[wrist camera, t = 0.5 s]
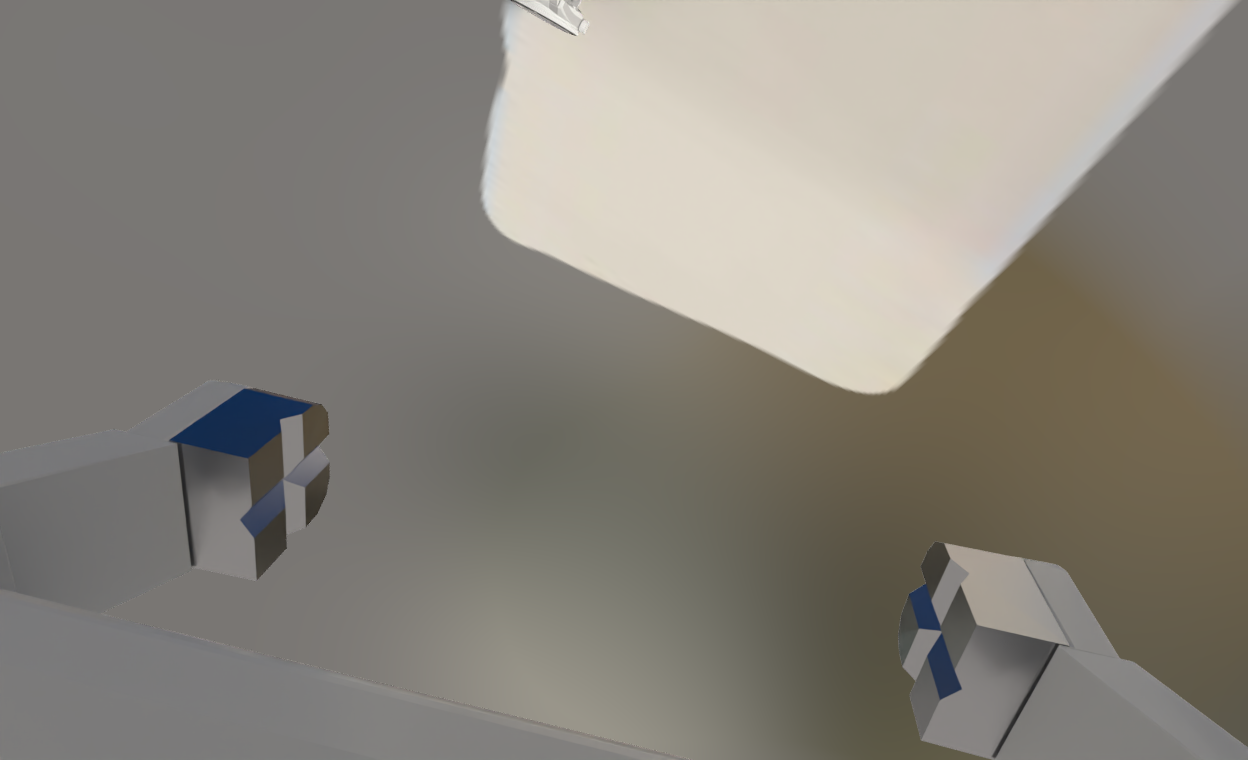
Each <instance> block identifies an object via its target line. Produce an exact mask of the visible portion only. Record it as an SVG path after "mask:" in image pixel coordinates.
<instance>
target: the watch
mask: <svg viewBox="0 0 1248 760" xmlns="http://www.w3.org/2000/svg"><path fill="white" fill-rule="evenodd" d="M511 1H512V2H513V3H515V4H516V5H518V6H519V7H521V8H523V9H524V10H526V11H528V12H529V13H531V14H533V15H535V16H536V17H538V18H540V19H542V20H543V21H545V22H547V23H549V24H551V25H553V26H554V27H556V28H558V29H560V30H562V31H564V32H566V33H569V34H572V35H574V36H578V34H579V32H581V33H583V34H585V33H586V31H587V29H588V26H589V22H588V21H586V20H585V19H583V14H582V13H581V11H580V10H579V9H578V7H579V5H580V3H581V1H582V0H511ZM578 30H579V32H578Z"/></svg>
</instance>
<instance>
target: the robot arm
mask: <svg viewBox="0 0 1248 760" xmlns="http://www.w3.org/2000/svg"><path fill="white" fill-rule="evenodd" d="M328 435H329V418H328V412H327V411H326V409H325V408H324V407H323V405H322V404H319V403H314V402H310V401H306V400H302V399H298V398H293V397H290V396H285V395H282V394H277V393H273V392H269V391H265V390H261V389H257V388H251V387H249V386H245V385H240V384H236V383H231V382H226V381H221V380H220V381H219V380H209V381H207V382H206V383H204V384H203V385H201V386H199V387H198V388H196V389H194V390H193V391H191V392H189V393H188V394H186V395H185V396H183V397H182V398H180V399H179V400H176V401H175V402H173V403H172V404H170V405H168V406H167V407H165V408H164V409H162V410H160V411H159V412H157V413H155V414H154V415H152V416H151V417H149V418H147V419H146V420H144V421H143V422H141V423H139V424H138V425H136V426H135V427H133V428H131V429H130V430H128V431H126V432H125V431H120V430H115V429H113V430H109V431H103V432H98V433H94V434H89V435H84V436H79V437H74V438H69V439H65V440H60V441H55V442H50V443H45V444H40V445H36V446H31V447H26V448H21V449H17V450H11V451H7V452H2V453H0V760H692V759H688V758H684V757H680V756H676V755H672V754H668V753H664V752H660V751H656V750H652V749H648V748H644V747H639V746H635V745H632V744H627V743H623V742H619V741H615V740H611V739H607V738H603V737H598V736H595V735H591V734H587V733H583V732H578V731H574V730H570V729H566V728H562V727H558V726H554V725H550V724H546V723H542V722H538V721H534V720H530V719H525V718H521V717H517V716H513V715H509V714H505V713H501V712H497V711H493V710H489V709H485V708H481V707H477V706H473V705H469V704H465V703H460V702H456V701H452V700H448V699H444V698H440V697H436V696H432V695H428V694H424V693H420V692H416V691H411V690H408V689H404V688H400V687H396V686H392V685H388V684H384V683H380V682H376V681H371V680H367V679H363V678H359V677H355V676H351V675H347V674H343V673H339V672H335V671H331V670H326V669H323V668H319V667H315V666H311V665H307V664H302V663H299V662H295V661H291V660H287V659H282V658H279V657H274V656H270V655H266V654H262V653H258V652H254V651H250V650H246V649H242V648H238V647H234V646H230V645H226V644H222V643H218V642H214V641H210V640H206V639H202V638H198V637H193V636H190V635H186V634H181V633H177V632H173V631H169V630H165V629H161V628H157V627H153V626H149V625H145V624H141V623H137V622H133V621H129V620H125V619H121V618H117V617H113V616H109V615H105V614H101V613H103V612H105V611H108V610H110V609H112V608H114V607H116V606H118V605H120V604H122V603H124V602H127V601H129V600H131V599H133V598H135V597H137V596H139V595H141V594H143V593H146V592H148V591H150V590H152V589H154V588H156V587H158V586H160V585H162V584H165V583H167V582H169V581H171V580H173V579H175V578H177V577H179V576H181V575H184V574H186V573H188V572H190V571H191V570H192V567H193V568H198V569H203V570H207V571H212V572H217V573H221V574H226V575H231V576H236V577H241V578H245V579H250V580H255V581H257V580H258V579H259V578H260V577H261V576H262V575H263V574H264V573H265V571H266V570H267V569H268V568H269V567H270V566H271V565H272V564H273V563H274V562H275V561H276V560H277V558H278V557H279V556H280V555H281V554H282V553H283V552H284V551H285V550H286V549H287V537H286V535H287V534H290V533H292V532H295V531H298V530H300V529H303V528H305V527H307V525H308V524H309V523H310V522H311V521H312V520H313V519H314V517H315V516H316V515H317V514H318V512H319V510H320V507H321V505H322V503H323V501H324V499H325V497H326V494H327V489H328V484H329V479H330V463H329V461H328V459H327V457H326V456H325V454H324V453H323V451H322V450H321V448H320V447H319V445H320V444H321V443H322V442H323V440H324V439H325V438H326V437H327V436H328ZM921 570H922V573H923V576H924V579H925V582H926V584H924V585H922V586H921V587H919V588H918V589H916V590H914V591H913V592H911V593H909V595H908V598H907V600H906V603H905V606H904V609H903V611H902V614H901V619H900V626H899V633H898V641H899V654H900V658H901V662H902V667H903V668H904V669H905V670H906V671H907V672H908V673H909V674H910V675H911V676H912V677H913V678H914V680H916V682H915V684H914V686H913V688H912V691H911V693H910V699H911V703H912V707H913V711H914V715H915V719H916V723H917V727H918V730H919V734H920V738H921V741H925V742H929V743H933V744H936V745H940V746H944V747H948V748H951V749H955V750H959V751H962V752H966V753H970V754H974V755H978V756H981V757H985V758H989V759H993V760H1248V748H1247V747H1246V746H1245V745H1244V744H1242V743H1241V742H1240V741H1238V740H1237V739H1236V738H1234V737H1233V736H1231V735H1230V734H1229V733H1228V732H1226V731H1225V730H1223V729H1222V728H1221V727H1220V726H1218V725H1217V724H1216V723H1214V722H1213V721H1212V720H1210V719H1209V718H1207V717H1206V716H1205V715H1204V714H1202V713H1201V712H1200V711H1198V710H1197V709H1196V708H1194V707H1193V706H1192V705H1190V704H1189V703H1188V702H1186V701H1185V700H1184V699H1182V698H1181V697H1180V696H1178V695H1177V694H1176V693H1174V692H1173V691H1172V690H1170V689H1169V688H1168V687H1166V686H1165V685H1164V684H1162V683H1161V682H1160V681H1158V680H1157V679H1155V678H1154V677H1153V676H1152V675H1150V674H1149V673H1148V672H1146V671H1145V670H1144V669H1142V668H1141V667H1140V666H1138V665H1137V664H1136V663H1134V662H1132V661H1128V660H1123V659H1120V658H1119V656H1118V655H1117V653H1116V651H1115V650H1114V648H1113V647H1112V645H1111V643H1110V642H1109V640H1108V638H1107V637H1106V635H1105V634H1104V632H1103V631H1102V629H1101V627H1100V625H1099V624H1098V622H1097V620H1096V619H1095V617H1094V615H1093V614H1092V612H1091V610H1090V609H1089V607H1088V606H1087V604H1086V602H1085V601H1084V599H1083V597H1082V596H1081V594H1080V593H1079V591H1078V589H1077V587H1076V586H1075V584H1074V583H1073V581H1072V580H1071V578H1070V576H1069V574H1068V573H1067V571H1065V570H1064V569H1063V568H1061V567H1060V566H1058V565H1057V564H1051V563H1046V562H1040V561H1035V560H1029V559H1024V558H1018V557H1012V556H1007V555H1002V554H997V553H992V552H987V551H981V550H976V549H971V548H966V547H961V546H956V545H951V544H946V543H940V542H934V543H933V545H932V546H931V547H930V548H929V550H928V551H927V553H926V555H925V558H924V560H923V562H922V564H921Z"/></svg>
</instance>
